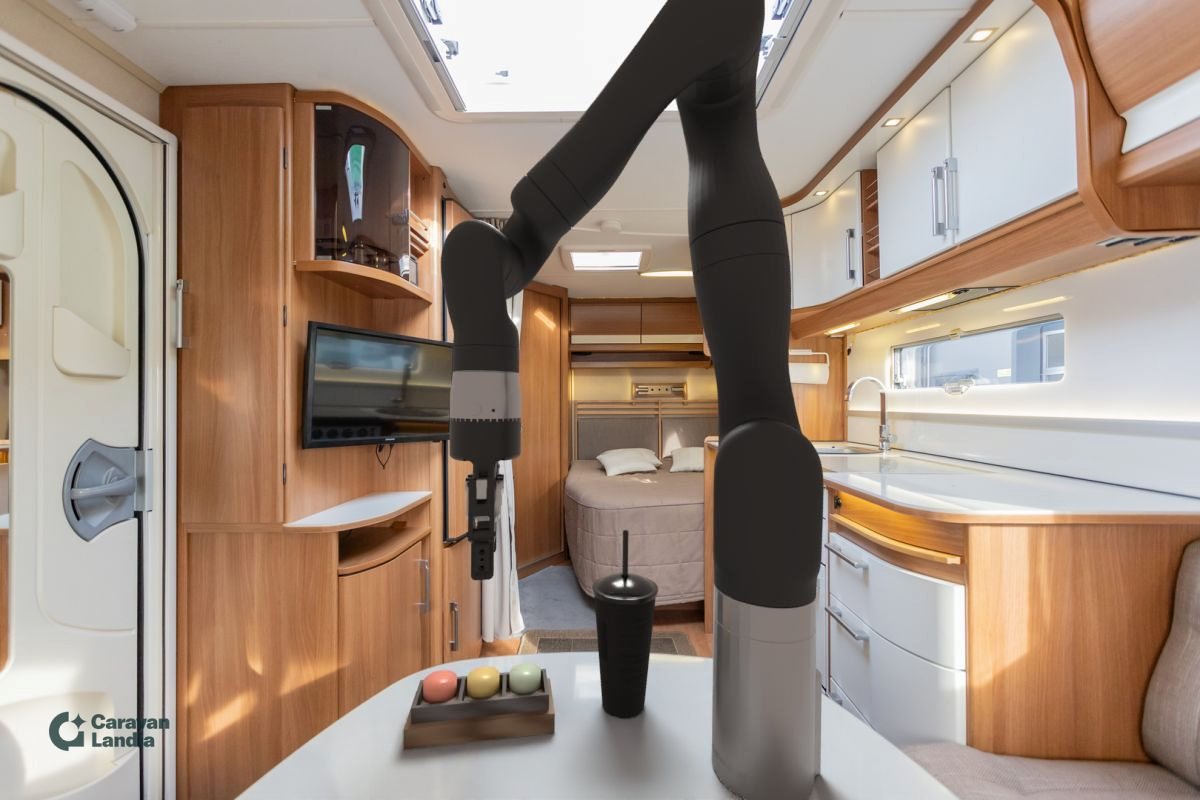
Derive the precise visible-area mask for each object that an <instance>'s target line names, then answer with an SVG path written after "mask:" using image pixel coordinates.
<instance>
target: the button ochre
mask: <svg viewBox="0 0 1200 800" xmlns="http://www.w3.org/2000/svg"><path fill="white" fill-rule="evenodd" d="M499 673H500V671H499V670H498V668H496V667H494V666H486V665H485V666H480V667H476V668H474V669H472V670H471V671H470V672H469V673H468V674H467V675H466V676H467V694H468V696H469V697H470V698H472V699H486V698H491V697H493V696H494V695H496V694H497V693H498V691H499Z"/></svg>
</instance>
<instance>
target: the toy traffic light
mask: <svg viewBox="0 0 1200 800" xmlns="http://www.w3.org/2000/svg"><path fill="white" fill-rule="evenodd" d="M540 669H541V686H540V688H539V690H538V691H536V692H535V693H533V694H526V695H517V694H514V693H512V692H511V691H510V688H509V684H510V671H507V672H506V671H504V672H499V691H498V693H497V694H496V695H494V696H493V697H491V698H486V699H472V698H470V697H469V696H468V694H467V676H468V675H464V676H462V675H460V676H457V693H456V695H455V697H454V698H452V699H451V700H449V701H447V702H445V703H436V704H429V703H427V702H425V701H424V699H423V681H424V679H420V680H419V683H418V686H417V688H416V689H417V690H416V691H415V694H414V697H413V701H412V703H411V706H410V709H409V713H408V714H407V718H406V722H405V724H404V728H403V730H402V731H403V739H402V740H403V741H402V742H403V745H402V749H403V751H407V750H415V749H416V750H417V749H424V748H425V749H426V748H433V747H442V746H452V745H459V744H468V743H476V742H484V741H485V742H486V741H493V740H501V739H502V740H503V739H511V738H520V737H528V736H537V735H538V736H539V735H547V734H554V733H555V726H556V725H555V724H556V723H555V722H556V721H555V720H556V718H555V717H556V712H555V705H554V698H553V692H552V691H553V690H552V683H551V678H550V677H548V674H547V668H540Z"/></svg>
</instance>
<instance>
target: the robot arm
mask: <svg viewBox="0 0 1200 800" xmlns="http://www.w3.org/2000/svg"><path fill="white" fill-rule="evenodd" d="M765 4H766V0H666V2H665V3H664V4H663V6H662V7H661V8H660V9H659V11H658V13H657V14H656V16H655V17H654V18H653V20H652V21H651V23H650V24H649V26H648V27H647V28H646V29H645V31H644V32H643V33H642V36H641V37H640V39H639V40H638V41H637V42H636V44H634V47H632V49H631V50H630V52H629V53H628V54H627V56H626V57H625V58H624V60H623V61H622V62H621V64H620V65H619V67H618V68H617V69H616V71H615V72H614V73H613V75H612V76H611V77H610V78H609V80H608V81H607V83H606V84H605V85H604V86H603V88H602V89H601V91H600V92H599V93H598V95H597V96H596V97H595V98H594V99H593V100H592V103H591V104H590V105H589V106H588V108H586V110H585V111H584V112H583V114H582V115H581V116H580V117H579V118H578V119H577V120H576V121H575V123H574V124H573V125H572V126H571V127H570V128H569V129H568V131H567V132H565V134H564V135H563V136H562V137H561V138H560V139H559V140H558V141H557V142H556V143H555V144H554V145H553V146H552V147H551V149H549V150H548V151H547V152H546V153H545V154H544V155H543V157H542V158H541V159H539V160H538V161H537V162H536V163H535V164H534V166H533V167H532V168H531V169H529V171H528V172H526V174H524V176H522V177H521V179H520V180H519V181H518V182H517V183H516V185H515V186H513V189H512V190H511V193H510V203H511V207H512V209H513V211H512V214H511V215H510V216H509V217H508V219H507V221H506V223H504V225H503V227H502V228H501V229H500V230H499V229H498V228H496V227H495V226H494V225H492V224H490V223H488V222H487V221H484V220H481V219H467V220H463V221H461V222H459V223H458V224H456V225H455V226H454V227H453V228H451V230H450V231H449V233H448V234H447V235H446V238H445V239H444V242H443V246H442V249H441V256H440V272H441V280H442V289H443V292H444V296H445V297H444V298H445V301H446V302H445V303H446V308H447V312H448V317H449V320H450V323H451V327H452V332H453V340H452V377H451V385H450V395H449V457H450V458H451V459H453V460H455V461H459V462H470V463H471V464H472V473H469V474H467V477H465V481H464V491H465V496H466V502H465V503H466V504H465V505H466V506H465V518H466V520H467V532H466V538H467V541H468V542H469V543H470V578H471V579H472V580H473V581H487V580H491V579H493V578H494V574H495V553H496V551H497V542H498V541H497V536H498V535H497V533H498V531H497V530H498V529H497V526H498V525H497V522H498V521H499V520H500V519H501V517H502V516H501V514H502V509H501V508H502V504H503V494H504V489H505V474H504V473H499V469H500V468H501V465H500V464H499V463H500V461H511V460H515V459H517V458H519V457H520V456H521V453H522V452H521V451H522V450H521V449H522V390H521V381H520V335H519V330H518V328H517V325H516V324H515V322H514V321H513V320H512V318H511V317H510V315H509V312H508V306H507V305H508V304H507V303H508V302H507V300H509V299H511V298H513V297H515V296H517V295H518V294H519V293H520V292H522V291H523V290H524V289H526V287H527V286H528V285H530V284H531V282H532V281H533V280H534V279H535V277H536V276H537V274H538V273H539V272H540V271H541V269H542V267H543V266H544V265H545V263H546V262H547V261H548V259H549V258H550V256H551V254H552V253H553V252H554V250H555V248H556V246H557V245H558V244H559V241H560V240H561V239H562V238H563V237H564V236H566V234H567V233H568V232H570V231H571V230H572V228H574V227H575V226H576V225H577V224H578V223H579V222H580V221H582V219H583V218H584V217H585V216H586V215H587V214H588V213H589V212H590V211H592V209H594V208H595V206H597V205H598V203H600V202H601V200H602V199H603V198H604V197H605V196H606V195H607V193H609V191H610V190H611V189H612V187H613V186H614V185H615V183H616V181H617V180H618V179H619V177H620V175H621V174H622V172H623V171H624V169H625V168H626V166H627V164H628V163H629V161H630V160H631V158H632V156H633V155H634V153H635V152H636V150H637V149H638V146H639V145H640V144H641V142H642V141H643V139H644V138H645V136H646V135H647V133H648V131H649V130H650V129H651V128H652V126H653V125H654V124H655V122H656V121H657V119H658V118H659V117H661V115H662V113H663V112H664V111H665V110H666V109H667V108H668V106H670V104H671V103H672V102H673V101H674V100H675V103H676V108H677V111H678V115H679V118H680V124H681V128H682V134H683V138H684V142H685V147H686V148H685V149H686V153H687V155H686V156H687V162H688V182H687V183H688V186H687V231H688V234H687V235H688V246H689V254H690V262H691V263H690V264H691V271H692V280H693V286H694V292H695V297H696V302H697V308H698V313H699V317H700V320H701V326H702V329H703V333H704V336H705V339H706V343H707V347H708V350H709V354H710V357H711V361H712V365H713V370H714V375H715V376H714V377H715V381H716V392H717V395H716V396H717V415H718V418H717V419H718V436H717V437H718V443H717V444H718V445H717V453H716V456H715V459H714V464H713V488H712V489H713V495H712V496H713V505H712V508H713V510H712V511H713V518H712V519H713V520H712V525H713V526H712V527H713V528H712V530H713V534H712V535H713V536H712V537H713V538H712V557H713V611H712V612H713V618H712V620H713V624H712V625H713V627H712V629H713V631H712V633H713V634H712V639H713V640H712V696H711V697H712V701H711V702H712V703H711V707H712V708H711V709H712V710H711V711H712V713H711V715H712V717H711V718H712V719H711V762H712V767H713V770H714V771H715V773H716V775H717V777H718V778H719V779H720V780H721V782H722V783H723V784H724V786H726V787H727V788H728V789H729V790H730V791H731V792H733V793H734V794H736V795H737V796H739V797H740V798H742V799H744V800H807V799H808V798H809V797H810V796H811V795H812V793H813V791H814V787H815V777H817V776H818V775H820V774H821V773H822V772H821V771H822V770H821V769H822V767H821V766H822V765H821V764H822V762H821V761H822V700H823V699H822V694H823V693H822V690H823V689H822V688H823V685H822V683H823V681H822V680H823V679H822V673H821V671H820V670H819V669H818V668H817V666H816V663H817V662H816V661H817V659H816V658H817V657H816V656H817V584H818V583H817V582H818V576H819V573H820V571H821V570H820V569H821V567H822V558H823V557H822V555H823V554H822V552H823V530H824V529H823V528H824V527H823V525H824V496H825V495H824V484H825V483H824V472H823V471H824V470H823V465H822V460H821V457H820V455H819V453H818V451H817V449H816V448H815V446H814V444H813V443H812V442H811V441H810V439H809V438H807V436H806V435H805V434H803V432H802V429H801V425H800V420H799V417H798V412H797V407H796V402H795V397H794V393H793V387H792V381H791V374H790V365H789V363H790V362H789V357H790V356H789V355H790V354H789V349H790V337H791V333H790V332H791V317H792V316H791V315H792V276H791V275H792V273H791V272H792V271H791V261H790V253H789V252H790V250H789V244H788V236H787V228H786V222H785V221H786V220H785V216H784V210H783V207H782V203H781V199H780V196H779V193H778V190H777V188H776V185H775V182H774V181H773V178H772V176H771V175H772V174H770V171H769V168H768V166H767V165H766V164H767V163H766V162H765V160H764V157H763V153H762V151H761V148H760V147H761V146H760V142H759V141H760V140H759V133H758V117H757V114H758V113H757V75H758V67H759V61H760V51H761V47H762V40H763V32H764V28H765V21H766V20H765V17H766V5H765Z"/></svg>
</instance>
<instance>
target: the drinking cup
mask: <svg viewBox="0 0 1200 800" xmlns="http://www.w3.org/2000/svg"><path fill="white" fill-rule="evenodd" d="M629 534H630V532H629V530H627V529H625V530H624V529H623V530H622V556H621V557H622V563H621V564H622V565H621V566H622V567H621V568H622V569H621V572H616V573H611V574H608V575H605V576H602V577H598V578H597V579H596V580H595V581H593V582H592V585H591V592H592V595H593V597H594V609H595V622H596V624H595V625H596V636H597V638H596V639H597V651H598V652H597V653H598V664H599V677H600V679H599V680H600V691H601V693H600V694H601V706H602V708H603V710H604V712H605V713H606V714H607V715H609V716H611V717H612V718H616V719H622V720H627V719H628V720H629V719H634V718H637V717H638V716H639V715H641V714H642V712H643V711H644V708H645V703H646V693H647V684H648V674H649V663H650V656H651V648H652V647H651V645H652V635H653V626H654V616H655V608H656V598H657V597H658V595H659V586H658V584H657V583H656V582H655V581H653V580H651V579H650V578H648V577H644V576H642V575H639V574H637V573H634V572H629V544H630V543H629Z"/></svg>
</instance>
